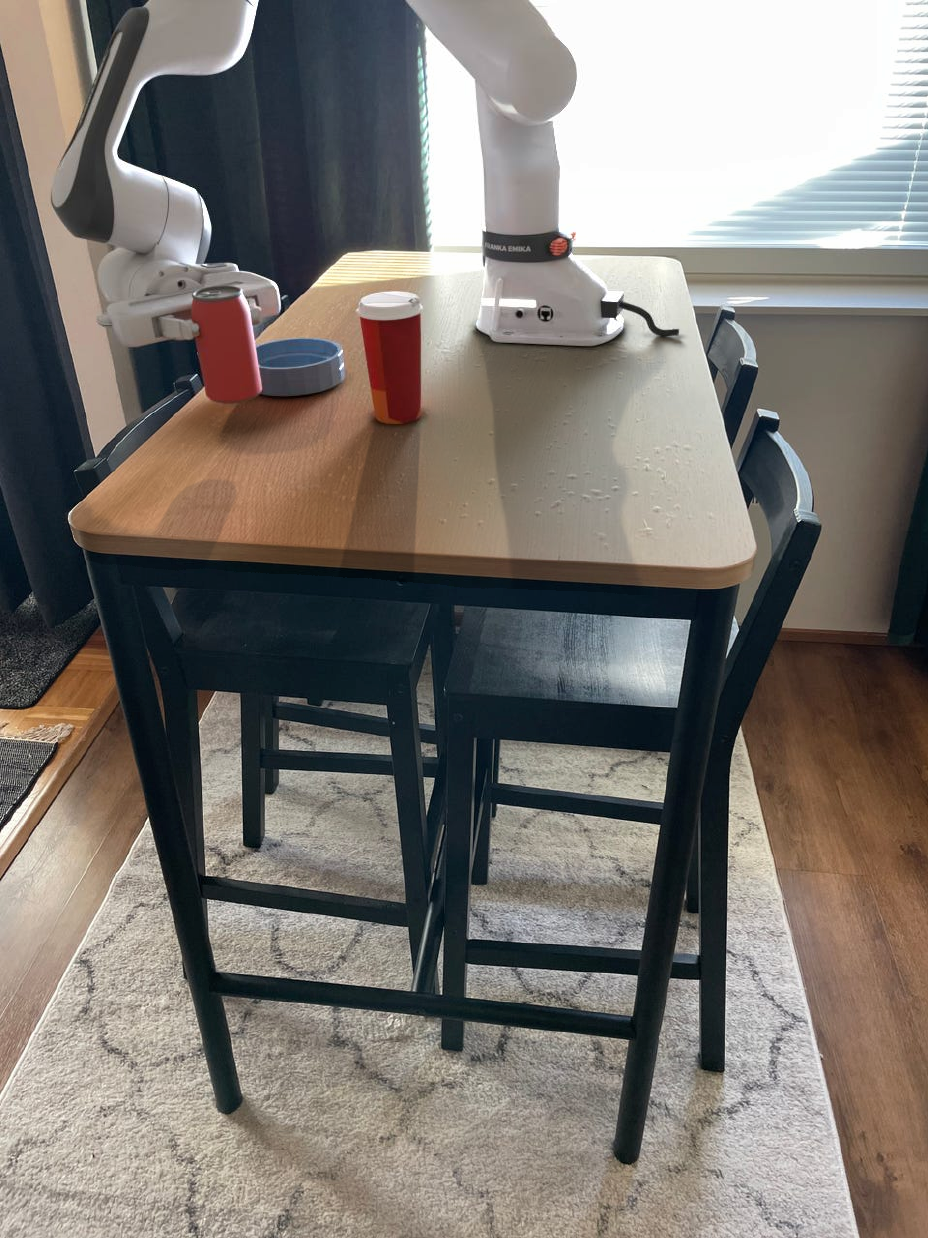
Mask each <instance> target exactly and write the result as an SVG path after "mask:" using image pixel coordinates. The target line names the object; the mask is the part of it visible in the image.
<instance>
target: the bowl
mask: <svg viewBox="0 0 928 1238" xmlns="http://www.w3.org/2000/svg"><path fill="white" fill-rule="evenodd" d="M255 346H256V353H257V359H258V365H259V372H260V378H261V385H262V391H261V392H260V394H259V395H264V396H270V397H294V396H304V395H310V394H316V393H320V392H323V391H326V390H329V389H332V388H334V387H336V386H337V385H339V384H341V383H342V382H343V381H344V380H345V378H346V373H345V371H346V370H345V363H344V362H345V361H344V352H343V348H342V345H341V344H339V343H338V342H336V341H333V340H330V339H326V338H319V337H290V338H289V337H288V338H281V339H276V340H269V341H266V342H263V343H259V344H255Z"/></svg>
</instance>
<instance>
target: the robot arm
mask: <svg viewBox="0 0 928 1238" xmlns="http://www.w3.org/2000/svg"><path fill="white" fill-rule="evenodd" d="M404 1H405V2H406V4H407V5H408V6H409V7H410V8H411V10H412V11H413V12H414V13H415V14H416V15H417V17H418V18H419V19H420V20H421V22H422V23H423V24H424V26H426V28H427V29H428V30H429V31H430V33H431V34H432V35H433V36H434V37H435V38H436V39H437V40H438V41H439V42H440V44H442V45H443V47H444V48H445V49H446V50H447V51H448V52H449V53H450V54H451V55H452V56H453V57H454V58H455V59H456V60H457V62H459V64H460V65H461V66H462V68H464V69H465V70H466V71H467V73H469V75H470V76H471V77H472V78H473V80H474V86H475V87H474V89H475V100H476V112H477V122H478V123H477V124H478V133H479V141H480V149H481V157H482V166H483V191H484V192H483V193H484V198H483V199H484V227H483V229H482V230H481V232H482V235H481V236H482V237H481V256H482V266H483V268H484V272H483V273H484V274H483V287H482V296H481V302H480V308H479V313H478V317H477V320H476V324H475V326H476V328H477V329H478V331H480V332H481V333H483V334H485V335H488V336H489V337H490V339H491V341H493V342H496V343H505V344H506V343H507V344H511V343H512V344H532V345H533V344H534V345H549V346H550V345H551V346H552V345H553V346H572V347H573V346H577V347H594V346H598V345H601V344H604V343H607V342H609V341H612V340H613V339H615V338H616V337H617V336H618V335H619V334H620V333H621V332H622V331H623V330H624V318H623V317H622V315H620V314H621V313H622V311H623V310H625V311H628V312H632V313H634V314H637V315H639V316H640V317H642V318H643V319H644V320H645V322H646V325H647V327H648V329H649V331H650V332H651V333H653V334H654V335H656V336H659V337H673V336H677V337H678V336H679V335H680V328H666V329H665V328H664V329H663V328H659V327H658V326H657V325H656V323H655V322H654V319H653V317H652V315H651V314H650V313H649V312H648V311H647V310H645V309H644V308H642V307H640V306H638V305H635V304H633V303H630V302H626V301H624V299H625V298H624V297H625V292H624V291H608V288H607V286H606V284H605V282H604V281H603V280H602V279H600V278H599V277H598V276H597V275H596V274H594V273H593V272H592V271H591V270H590V269H589V268H588V267H587V266H585V265H584V264H583V263H582V262H581V261H580V260H579V259H577V257H575V256H574V255H573V245H574V244H573V242H575V241H576V240H577V238H575V237H576V234H577V232H575V231H574V232H571V233H569V232H568V231H567V230H566V229H565V228H564V227H563V226H562V225H561V220H562V219H561V216H562V173H563V170H562V163H561V159H560V154H559V148H558V140H557V132H556V122H555V118H557V117H558V116H559V115H561V114H562V113H563V112H564V111H565V110H566V109H567V108H568V106H569V105H570V104H571V102H572V100H573V98H574V96H575V93H576V90H577V87H578V77H579V74H578V73H579V72H578V65H577V61H576V59H575V56H574V54H573V52H572V50H571V49H570V47H569V46H568V45H567V43H566V42H565V41H564V40H563V39H562V37H561V36H560V35H559V34H558V33H557V31H556V30H555V29H554V28H553V26H552V25H551V24H550V23H549V22H548V20H546V18H545V17H544V15H542V13H541V12H540V11H539V10H538V9H537V8H536V7H535V5H534V4H533V3H532V2H531V1H530V0H404ZM258 3H259V0H148V1H147V2H146V3H145V4H144V5H143V6H139V7H131V8H129V9H128V10H127V11H126V12H125V13H124V15H123V16H122V17H121V19H120V20H119V22H118V23H117V25H116V27H115V29H114V31H113V33H112V35H111V37H110V40H109V41H108V42H109V43H108V45H107V47H106V49H105V52H104V54H103V57H102V60H101V62H100V64H99V66H98V70H97V72H96V74H95V78H94V80H93V83H92V84H91V85H92V86H91V88H90V91H89V94H88V96H87V99H86V101H85V104H84V106H83V110H82V112H81V115H80V117H79V119H78V120H79V121H78V122H77V125H76V127H75V130H74V132H73V135H72V137H71V140H70V142H69V144H68V145H67V147H66V149H65V152H64V153H63V155H62V157H61V159H60V161H59V164H58V166H57V168H56V171H55V173H54V176H53V179H52V184H51V189H50V204H51V206H52V208H53V210H54V212H55V214H56V216H57V217H58V220H60V222H61V223H62V224H63V226H64V227H65V228H66V230H67V231H68V232H69V233H70V234H71V235H72V236H73V237H74V238H79V239H82V240H86V241H92V242H96V243H100V244H108V245H112V246H115V247H116V248H114V249H113V250H111V251H109V253H107V254H106V255H105V256H104V257H102V259H101V261H100V263H99V265H98V269H97V280H98V285H99V289H100V291H101V293H102V295H103V297H104V298H105V300H106V301H107V303H108V305H107V307H106V311H105V312H103V314H102V315H101V314H100V315H97V316H96V321H95V322H96V323H97V324H98V325H99V326H101V327H103V328H106V329H108V328H109V329H110V331H111V332H112V336H113V337H114V339H115V340H116V341H117V342H118V343H119V344H120V345H122V346H123V347H126V348H139V347H143V346H147V345H153V344H156V343H160V342H164V341H170V340H174V341H186V340H187V341H190V340H195V338H199V337H201V333H200V331H199V324H198V322H197V321H194V320H193V319H191V306H192V301H193V297H192V293H193V292H195V291H196V290H199V289H202V288H206V287H212V286H235V287H239V288H241V289H242V292H243V293H242V294H243V296H244V297H245V299H246V301H247V303H248V306H249V308H250V314H251V320H252V326H254V325H260V324H263V323H264V318H269V317H274V316H278V315H279V314H280V312H281V309H282V306H281V305H282V303H281V295H280V290H279V287H278V285H277V283H276V282H275V281H273V280H271V279H269V278H267V277H264V276H261V275H259V274H256V273H255V272H254V273H253V272H250V271H244V270H239V268H238V265H237V264H235V263H232V262H216V263H215V262H213V263H205V261H206V258H207V255H208V252H209V249H210V244H211V237H212V224H211V220H210V216H209V212H208V210H207V207H206V204H205V201H204V199H203V197H201V195H200V193H199V192H198V190H197V189H195V188H194V187H190V186H189V185H186V184H185V183H181V182H180V181H176V180H175V179H172V178H169V177H166V176H164V175H161V174H157V173H154V172H151V171H149V170H147V169H144V168H142V167H139V166H136V165H133V164H131V163H128V162H126V161H123V160H122V159H120V158H119V157H118V148H119V145H120V143H121V140H122V137H123V135H124V132H125V130H126V127H127V124H128V122H129V119H130V116H131V115H132V111H133V109H134V106H135V104H136V101H137V98H138V96H139V93H140V91H141V89H142V88H143V87H144V85H145V84H146V83H147V82H149V81H150V80H152V79H154V78H156V77H158V76H164V75H166V76H167V75H177V76H178V75H179V76H181V75H182V76H209V75H215V74H219V73H222V72H225V71H227V70H229V69H230V68H232V67H233V66H234V65H236V64H237V63H238V62H239V61H240V59H242V57H243V55H244V54H245V52H246V49H247V47H248V45H249V41H250V38H251V35H252V31H253V28H254V22H255V17H256V13H257V8H258Z"/></svg>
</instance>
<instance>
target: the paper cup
mask: <svg viewBox="0 0 928 1238" xmlns="http://www.w3.org/2000/svg"><path fill="white" fill-rule="evenodd" d="M420 301H421V300H420V298H419V296H418V295H417V294H415V293H413V292H408V291H399V290H398V291H396V290H395V291H392V290H391V291H379V292H375V293H371V294H368V295H365V296H363V297H361V299H359V302H358V308H356V310H355V313H356V315H357V316H358V317H359V320H360V321H359V322H360V327H361V334H362V341H363V347H364V353H365V361H366V366H367V374H368V381H369V387H370V392H371V400H372V405H373V410H374V416H375V419H376V420H377V421H378V422H380V423H382V424H387V425H402V424H409V423H412V422H415V421H417V420H418V419H419V418H420V417H421V413H422V314H421V313H422V312H423V311H424V307H423V304H421V302H420Z"/></svg>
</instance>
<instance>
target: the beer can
mask: <svg viewBox="0 0 928 1238" xmlns="http://www.w3.org/2000/svg"><path fill="white" fill-rule="evenodd" d="M242 293H243V292H242V289H241V288H239V287H235V286H212V287H206V288H202V289H199V290H196V291H195V292H193V293H192V297H193V301H192V306H191V319H193V320H194V321H197V322H198V324H199V331H200V333H201V337H199V338H195V339H194V341H195V344H196V350H197V355H198V360H199V365H200V371H201V375H202V381H203V386H204V387H203V388H204V391H205V396H206V397H207V398H208V399H209V400H210V401H212V402H214V403H217V404H227V405H229V404H230V405H232V404H240V403H245V402H248V401H250V400H253V399H255V398H257V397H258V396H259V395H261V394H260V392H261V391H262V385H261V378H260V372H259V365H258V359H257V353H256V339H255V334H254V333H255V332H254V328H253V325H252V320H251V314H250V308H249V306H248V303H247V301H246V299H245V297H244V296H243V294H242Z"/></svg>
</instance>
